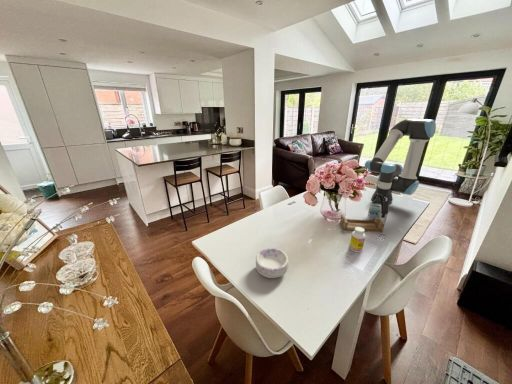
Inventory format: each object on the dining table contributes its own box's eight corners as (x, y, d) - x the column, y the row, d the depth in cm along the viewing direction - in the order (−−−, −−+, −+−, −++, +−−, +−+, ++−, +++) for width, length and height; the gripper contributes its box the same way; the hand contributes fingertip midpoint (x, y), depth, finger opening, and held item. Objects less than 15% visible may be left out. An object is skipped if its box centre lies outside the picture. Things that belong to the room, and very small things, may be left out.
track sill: (340, 221, 143) (341, 214, 141) (374, 223, 140) (376, 215, 138) (344, 231, 132) (346, 222, 130) (382, 233, 130) (384, 224, 127)
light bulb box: (367, 221, 144) (370, 206, 140) (367, 216, 149) (370, 203, 145) (385, 223, 140) (389, 209, 136) (384, 219, 146) (387, 205, 142)
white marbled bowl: (264, 287, 91) (264, 273, 88) (251, 265, 104) (250, 252, 101) (294, 277, 97) (295, 263, 94) (277, 257, 110) (278, 244, 107)
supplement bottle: (356, 254, 111) (360, 233, 106) (346, 247, 117) (350, 227, 112) (365, 250, 114) (369, 230, 109) (354, 244, 119) (358, 224, 115)
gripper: (370, 181, 148) (364, 208, 155) (386, 194, 125) (378, 225, 132) (381, 181, 147) (375, 208, 154) (399, 194, 124) (391, 226, 131)
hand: (376, 216), depth 143 cm, fingers open, 13 cm apart
